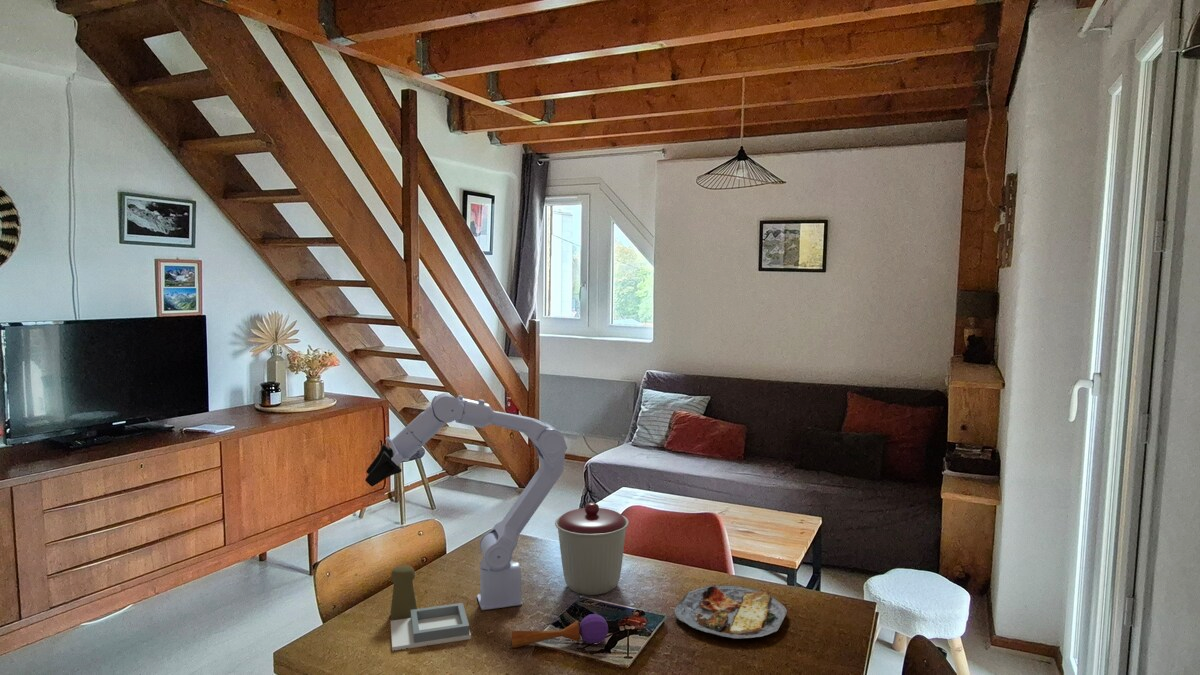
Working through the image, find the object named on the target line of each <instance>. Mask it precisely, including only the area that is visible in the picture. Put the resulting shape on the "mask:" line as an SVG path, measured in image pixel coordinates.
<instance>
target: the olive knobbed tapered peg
mask: <svg viewBox="0 0 1200 675" xmlns="http://www.w3.org/2000/svg"><path fill="white" fill-rule="evenodd" d="M415 574H416V572H415V569H414V568H413V567H412V566H410V565H407V564H405V565H404V564H403V565H398V566H396V567H394V568H393V569H392V571H391V573H390V579H391V582H393V587H392V598H391V607H390V614H389V615H390V619H392V621H393V620H400V619H407V618H411V610H413V609H418V607H417V601H416V595H415V588H414V582H413V581H414V580H415V577H416V575H415Z"/></svg>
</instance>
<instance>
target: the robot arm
mask: <svg viewBox="0 0 1200 675" xmlns="http://www.w3.org/2000/svg"><path fill="white" fill-rule="evenodd" d="M452 422H455V423H457V424H462V425H466V426H471V427H475V428H481V429H484V428H485V427H487V426H490V425H493V426H497V427H500V428H505V429H508V430H512V431H516V432H520V433H523V434H524V436H526V437H527V438H529V439H530V440H531V442H532V445H533V446H534V448H535V450H536V452H537V455H538V459H539V460H538V461H539V464H540V466H539V467H538V469H537V471H536V472H535V473H534V475H533V476H532V478H531V479H530V480H529V482H528V484H526V486H525V488H524V489H523V490H522V491H521V493H520V495H519V496H518V497H517V499H516V500H515V502H514V503H513V505H512V506H511V508H510V509H509V510H508V512H506V514H505V516H504V517H503V519H502V520H501V521H499V522H497V523H496V524H494V525H493V527H492V528H491V529H490V530H489V531H487V532H486V533H484V534H483V535H481V538H480V539H479V543H478V544H479V545H478V546H479V550H480V552H481V553H482V555H483V556H482V559H481V561H480V563H479V572H480V573H479V575H480V576H479V580H480V585H479V587H480V590H479V591H480V593H478V594H477V595H476V597H477V598H476V599H477V600H478V603H479V604H478V605H479V606H480V609H481V610H482V611H487V610H493V609H500V608H502V609H503V608H507V607H514V606H515V607H516V606H521V605H522V604H523V601H522V597H523V596H522V571H521V565H520V563H519V562H518V561H512V558H513V553H514V551H515V549H516V547H517V546H518V541H519V536H520V534H521V533H522V531H523V530H524V529H525V527H526V526H527V524H528V523H529V522H530V520H531V519H532V517H533V516H534V514H535V513H536V511H537V510H538V508H540V506H541V505H542V503H543V501H544V500H545V498H546V497H547V496H548V494H549V493H550V491H551V490H552V489H553V487H554V486H555V484H556V483H557V482H558V480H559V479H560V477H561V475H563V472H564V466H565V457H566V453H567V449H568V447H567V444H566V442H567V441H566V440H565V437H564V434H563V433H562V432H561V431H559V430H557V428H555V427H554V426H553V425H552V424H551V423H549V422H543V421H542V420H540V419H537V418H533V417H530V416H525V415H519V414H515V413H509V412H503V411H496V410H493V409H492V407H491V405H490V404H489V403H488V402H487V403H486V402H485V399H480V398H479V399H478V400H473V399H469V398H466V397H465V398H464V396H463V395H459V394H458V395H457V397H455V396H454V395H452V394H450V393H448V392H445V393H443V392H442V393H440V394H438V395H435V396H434V397H433V398H432V400H431V403H430V405H429V406H427V407H426V408H425V409H424V411H422V412H420V413H419V414H418V415H417V416H416V417H415V418H414V419H413V420H411V422H409V423H408V424H407V425H406V426H405V427H404V428H403V429H402V430H401V431H400V432H398V433H397V435H395V436H394V437H393V438H390V437H389V436H386V437H385V441H386V442H387V444H388V445H387V444H385V443H382V446H381V448H380V450H379V452H378V454H377V455H376V457H375V458H374V459H373V461H372V463H370V465H369V466H368V468H367V469H366V470H365V473H366V474H368V475H367V476H366V477H365V479H364V480H365V482H366V483H367V484H368V485H369V486H370V487H371V488H372V487H374V486H376V485H377V484H379V483H381V482H382V481H384V480H385V479H387V478H389V477H391V476H393V475H396V474H400V473H402V471H403V469H402V468H401V467H400V466H399V465H401V464H402V463H403V462H409V461H410V459H411V458H412V456H414V455H415V454H417V452H418V451H419V450H420V449H421V448H423V447H424V445H426V443H428V442H429V441H430V440H431V439H432V438H433V437H434V436H435V435H436V434H437V433H438V432H439V431H440V430H441V429H442V428H443V427H444V426H445V425H446V424H448V423H449V424H450V423H452Z"/></svg>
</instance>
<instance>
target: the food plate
mask: <svg viewBox="0 0 1200 675" xmlns="http://www.w3.org/2000/svg"><path fill="white" fill-rule="evenodd" d="M787 613H788V609H787V608H786V606H785V605H784V604H783V603H781V602H780V601H779V600H778V599H776V598H775V597H774V596H772V592H771V591H770V590H766V591H761V590H756V589H753V588H749V587H747V586H741V585H734V584H721V585H720V584H712V585H706V586H703V587H700V588H695V589H694V590H692V591H688V592H687V593H686V594H685V595H684V596H683V598H682V599H680V601H679V602H678V604H677V605H676V607H675V608H674V614H675V616H676V619H678V620H679V621H681V623H685V624H686V625H688V626H689V627H691V628H693V629H695V630H699V631H701V632H703V633H708V634H712V635H716V636H717V637H719V636H720V637H724V638H725V637H726V638H729V639H730V638H731V639H734V640H735V639H740V640H741V639H752V638H761V637H764V636H768V635H771V634H773V633H776V632H778V631H779V629H780V628H781V626H782V624H783V621H784V619H785V617H786V615H787ZM699 614H700V615H701V616H700V617H699V620H700V619H701V620H702V621H703V622H704V619H705V623H704V626H703V625H702V623H701V624H699V623H700V621H698V615H699ZM729 624H730V626H729ZM728 626H729V632H728V633H727V632H720V631H721V630H722V629H723V628H724V627H728ZM707 627H708V628H707Z"/></svg>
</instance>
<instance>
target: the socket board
mask: <svg viewBox="0 0 1200 675" xmlns="http://www.w3.org/2000/svg"><path fill="white" fill-rule="evenodd" d="M464 606H465V605H464V603H463V602H457V603H450V604H443V605H442V604H441V605H437V606H435V605H434V606H428V607H421V608H420V607H419V608H417V609H413V610H411V618H407V619H400V620H393V619H392V620H390V633H391V634H390V635H391V636H390V637H391V650H392V652H394V650H395V651H400V650H401V649H402V650H407V649H406V648H408V649H413V648H414V649H415V648H421V647H427V645H428V646H432V645H433V646H434V645H438V644H439V645H441V644H446V643H453V642H459V641H466V640H471V639H472V633H471V630H470V623H469V620H468V616H467V613H466V610H465V607H464ZM402 650H401V651H402Z"/></svg>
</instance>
